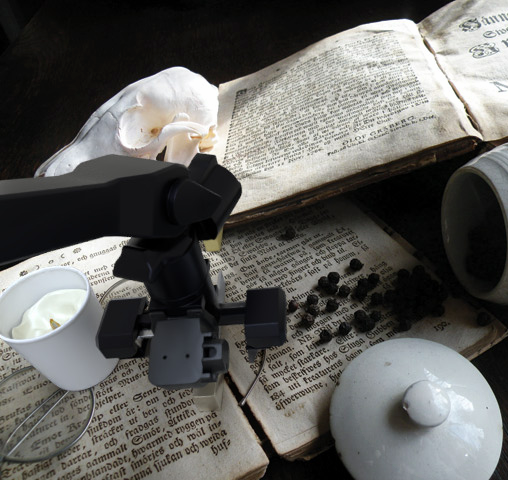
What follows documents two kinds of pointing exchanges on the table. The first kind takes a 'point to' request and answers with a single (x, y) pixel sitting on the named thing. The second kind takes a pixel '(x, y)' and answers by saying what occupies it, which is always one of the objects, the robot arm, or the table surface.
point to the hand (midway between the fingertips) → (212, 362)
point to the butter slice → (214, 243)
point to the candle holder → (56, 326)
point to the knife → (212, 392)
